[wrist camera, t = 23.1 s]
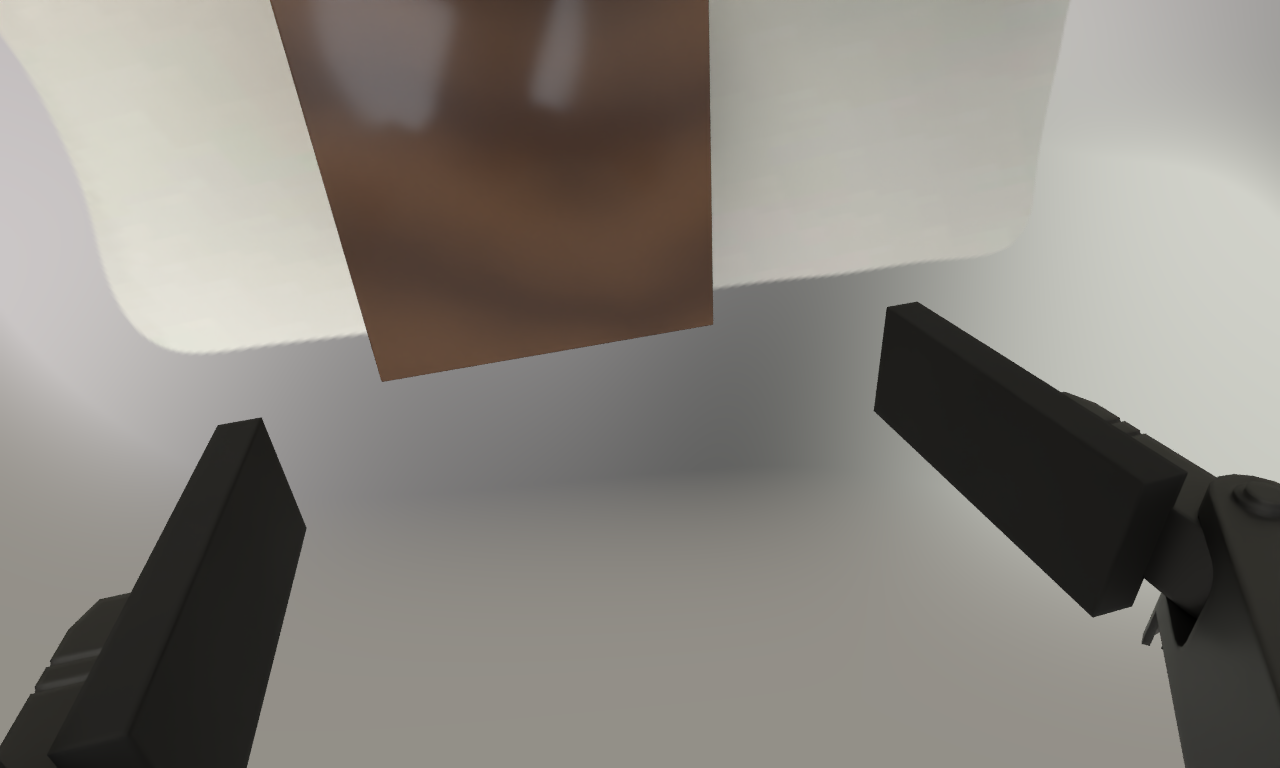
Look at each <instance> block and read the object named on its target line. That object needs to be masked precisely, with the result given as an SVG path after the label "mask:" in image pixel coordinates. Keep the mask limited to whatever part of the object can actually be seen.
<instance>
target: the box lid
mask: <svg viewBox="0 0 1280 768" xmlns="http://www.w3.org/2000/svg"><path fill="white" fill-rule="evenodd" d="M270 2H271V6H272V9H273V12H274V16H275V19H276V23H277V26H278V29H279V33H280V36H281V40H282V43H283V47H284V50H285V53H286V57H287V60H288V64H289V67H290V70H291V74H292V77H293V81H294V84H295V87H296V91H297V94H298V98H299V101H300V105H301V108H302V111H303V115H304V118H305V122H306V125H307V128H308V132H309V135H310V139H311V142H312V146H313V149H314V152H315V156H316V159H317V163H318V166H319V169H320V173H321V176H322V180H323V183H324V186H325V190H326V193H327V197H328V200H329V204H330V207H331V210H332V214H333V217H334V221H335V224H336V227H337V231H338V234H339V238H340V241H341V244H342V248H343V251H344V255H345V258H346V262H347V265H348V268H349V272H350V275H351V279H352V282H353V285H354V289H355V292H356V296H357V299H358V302H359V306H360V309H361V313H362V316H363V320H364V323H365V326H366V330H367V333H368V337H369V340H370V343H371V347H372V350H373V353H374V357H375V360H376V364H377V367H378V371H379V374H380V377H381V380H382V382H384V381H390V380H395V379H402V378H407V377H413V376H419V375H425V374H430V373H436V372H442V371H448V370H453V369H459V368H465V367H471V366H477V365H482V364H488V363H494V362H500V361H505V360H511V359H517V358H523V357H528V356H534V355H540V354H546V353H551V352H558V351H563V350H569V349H575V348H581V347H587V346H592V345H598V344H604V343H609V342H615V341H621V340H627V339H633V338H638V337H644V336H649V335H656V334H661V333H667V332H673V331H679V330H685V329H691V328H696V327H702V326H708V325H713V277H712V206H711V135H710V63H709V0H270Z"/></svg>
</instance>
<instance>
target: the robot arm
mask: <svg viewBox="0 0 1280 768" xmlns="http://www.w3.org/2000/svg"><path fill="white" fill-rule="evenodd" d="M874 411H875V412H876V413H877V414H878V415H879V416H880V417H881V418H882V419H883V420H884V421H885V422H886V423H887V424H888V425H890V427H892V428H893V429H894V430H895V431H896V432H897V433H898V434H899V435H900V436H901V437H902V438H903V439H904V440H906V442H907V443H909V444H910V445H911V446H912V447H913V448H914V449H915V450H916V451H917V452H918V453H919V454H920V455H921V456H922V457H923V458H924V459H925V460H926V461H928V462H929V463H930V464H931V465H932V466H933V467H934V468H935V469H936V470H937V471H938V472H939V473H940V474H941V475H942V476H943V477H944V478H946V479H947V480H948V481H949V482H950V483H951V484H952V485H953V486H954V487H955V488H956V489H957V490H958V491H959V492H960V493H961V494H962V495H964V496H965V497H966V498H967V499H968V500H969V501H970V502H971V503H972V504H973V505H974V506H975V507H976V508H977V509H978V510H980V512H982V513H983V514H984V515H985V516H986V517H987V518H988V519H989V520H990V521H991V522H992V523H993V524H994V525H995V526H996V527H997V528H999V529H1000V530H1001V531H1002V532H1003V533H1004V534H1005V535H1006V536H1007V537H1008V538H1009V539H1010V540H1011V541H1012V542H1014V544H1015V545H1016V546H1018V547H1019V548H1020V549H1021V550H1022V551H1023V552H1024V553H1025V554H1026V555H1027V556H1028V557H1029V558H1030V559H1031V560H1032V561H1033V562H1035V563H1036V564H1037V565H1038V566H1039V567H1040V568H1041V569H1042V570H1043V571H1044V572H1045V573H1046V574H1047V575H1048V576H1050V578H1052V580H1054V581H1055V582H1056V583H1057V584H1058V585H1059V586H1060V587H1061V588H1062V589H1063V590H1064V591H1065V592H1066V593H1067V594H1068V595H1070V596H1071V597H1072V598H1073V599H1074V600H1075V601H1076V602H1077V603H1078V604H1079V605H1080V606H1081V607H1082V608H1083V609H1084V610H1085V611H1086V612H1087V613H1089V614H1090V615H1091V616H1092V617H1096V616H1099V615H1103V614H1107V613H1110V612H1114V611H1117V610H1121V609H1124V608H1128V607H1131V606H1132V605H1133V603H1134V600H1135V598H1136V596H1137V593H1138V591H1139V589H1140V586H1141V584H1142V581H1143V579H1144V578H1145V579H1146V580H1147V581H1148V582H1149V583H1151V584H1152V585H1153V586H1154V587H1156V588H1157V589H1158V590H1159V591H1160V592H1161V595H1160V597H1159V599H1158V602H1157V604H1156V606H1155V608H1154V611H1153V613H1152V615H1151V617H1150V620H1149V622H1148V624H1147V626H1146V629H1145V631H1144V633H1143V638H1142V644H1145V645H1148V646H1150V643H1151V642H1152V640H1153V637H1154V635H1155V634H1157V633H1159V632H1160V636H1161V641H1162V648H1161V649H1163V652H1164V657H1165V662H1166V667H1167V673H1168V678H1169V684H1170V689H1171V694H1172V700H1173V704H1174V710H1175V716H1176V720H1177V726H1178V731H1179V737H1180V742H1181V747H1182V753H1183V758H1184V763H1185V768H1280V484H1279V483H1277V482H1274V481H1271V480H1267V479H1263V478H1259V477H1255V476H1248V475H1237V474H1232V475H1225V476H1219V477H1215V476H1213V475H1212V474H1210V473H1209V472H1207V471H1205V470H1204V469H1202V468H1200V467H1199V466H1197V465H1195V464H1194V463H1192V462H1190V461H1189V460H1187V459H1186V458H1184V457H1182V456H1181V455H1179V454H1177V453H1176V452H1174V451H1172V450H1171V449H1169V448H1168V447H1166V446H1165V445H1163V444H1161V443H1160V442H1158V441H1156V440H1155V439H1153V438H1151V437H1150V436H1148V435H1146V434H1141V433H1140V430H1138V429H1137V428H1135V427H1134V426H1132V425H1130V424H1129V423H1127V422H1125V421H1124V422H1121V421H1120V418H1119V417H1117V416H1116V415H1114V414H1112V413H1111V412H1109V411H1107V410H1106V409H1104V408H1103V407H1101V406H1099V405H1098V404H1096V403H1094V402H1091V401H1088V400H1086V399H1083V398H1080V397H1078V396H1075V395H1072V394H1069V393H1067V392H1060V391H1058V390H1056V389H1055V388H1053V387H1052V386H1050V385H1049V384H1047V383H1046V382H1044V381H1042V380H1041V379H1039V378H1037V377H1036V376H1034V375H1033V374H1031V373H1030V372H1028V371H1026V370H1025V369H1023V368H1022V367H1020V366H1019V365H1017V364H1015V363H1014V362H1012V361H1011V360H1009V359H1007V358H1006V357H1004V356H1003V355H1001V354H1000V353H998V352H996V351H995V350H993V349H992V348H990V347H988V346H987V345H985V344H984V343H982V342H980V341H979V340H977V339H976V338H974V337H973V336H971V335H969V334H968V333H966V332H965V331H963V330H961V329H960V328H958V327H957V326H955V325H953V324H952V323H950V322H949V321H947V320H946V319H944V318H942V317H941V316H939V315H938V314H936V313H934V312H933V311H931V310H930V309H928V308H927V307H925V306H923V305H922V304H920V303H918V302H913V303H907V304H902V305H896V306H890V307H887V310H886V319H885V327H884V334H883V342H882V350H881V359H880V366H879V375H878V382H877V390H876V398H875V406H874ZM305 532H306V526H305V523H304V521H303V518H302V516H301V514H300V511H299V508H298V506H297V504H296V501H295V499H294V496H293V494H292V491H291V489H290V486H289V484H288V482H287V479H286V477H285V474H284V472H283V469H282V467H281V464H280V462H279V459H278V457H277V454H276V452H275V450H274V447H273V445H272V442H271V440H270V437H269V435H268V432H267V430H266V428H265V425H264V423H263V420H262V418H256V419H250V420H245V421H239V422H233V423H228V424H222V425H218V426H217V428H216V430H215V432H214V434H213V435H212V438H211V439H210V441H209V443H208V445H207V447H206V449H205V451H204V453H203V455H202V457H201V459H200V460H199V462H198V464H197V466H196V468H195V470H194V472H193V474H192V476H191V478H190V480H189V482H188V484H187V486H186V488H185V489H184V491H183V493H182V495H181V497H180V499H179V501H178V503H177V505H176V507H175V509H174V511H173V513H172V514H171V516H170V518H169V520H168V522H167V524H166V526H165V528H164V530H163V532H162V534H161V536H160V538H159V540H158V541H157V543H156V546H155V547H154V549H153V551H152V553H151V555H150V557H149V559H148V561H147V563H146V565H145V567H144V568H143V570H142V572H141V574H140V576H139V578H138V580H137V582H136V584H135V586H134V588H133V590H132V592H131V593H127V594H122V595H118V596H113V597H108V598H104V599H100V600H99V601H98V602H97V603H96V604H95V605H93V607H91V608H90V609H89V610H88V611H87V612H86V613H85V614H84V615H83V616H82V617H81V618H80V619H79V620H78V621H77V622H76V623H75V624H74V625H73V626H72V627H71V628H70V629H69V630H68V631H67V633H66V635H65V636H64V638H63V640H62V642H61V643H60V645H59V647H58V649H57V650H56V652H55V653H54V655H53V657H52V659H51V660H50V662H51V665H50V667H46V669H45V671H44V672H43V674H42V676H41V677H40V679H39V681H38V682H37V684H36V686H35V693H34V694H30V696H29V698H28V699H27V701H26V703H25V704H24V706H23V708H22V710H21V711H20V713H19V715H18V716H17V718H16V720H15V722H14V723H13V725H12V727H11V728H10V730H9V732H8V733H7V735H6V737H5V739H4V740H3V742H2V744H1V745H0V768H247V764H248V760H249V756H250V752H251V748H252V744H253V740H254V736H255V732H256V728H257V724H258V720H259V716H260V712H261V708H262V704H263V700H264V696H265V692H266V688H267V684H268V680H269V676H270V672H271V668H272V664H273V660H274V656H275V652H276V648H277V644H278V640H279V636H280V632H281V628H282V624H283V620H284V616H285V612H286V608H287V604H288V600H289V596H290V592H291V588H292V584H293V580H294V576H295V572H296V568H297V564H298V560H299V556H300V552H301V548H302V544H303V540H304V536H305Z"/></svg>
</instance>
